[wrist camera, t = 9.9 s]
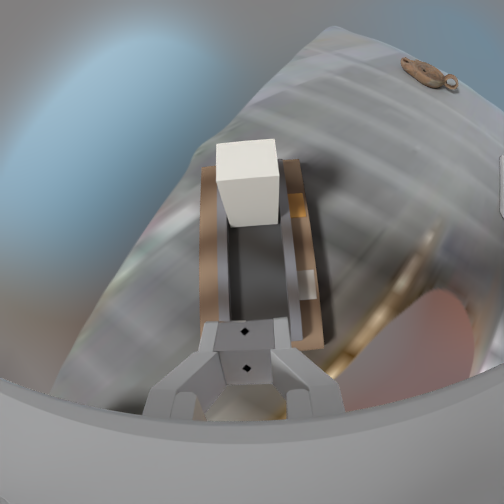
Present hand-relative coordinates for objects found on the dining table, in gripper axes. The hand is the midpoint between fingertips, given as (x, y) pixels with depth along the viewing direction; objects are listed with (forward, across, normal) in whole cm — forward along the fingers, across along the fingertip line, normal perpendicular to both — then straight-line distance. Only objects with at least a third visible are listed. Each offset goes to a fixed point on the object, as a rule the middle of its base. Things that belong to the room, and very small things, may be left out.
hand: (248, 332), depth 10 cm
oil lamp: (+46, -38, -17) cm, 62 cm away
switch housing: (+20, 0, +7) cm, 22 cm away
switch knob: (+22, 0, +2) cm, 22 cm away
